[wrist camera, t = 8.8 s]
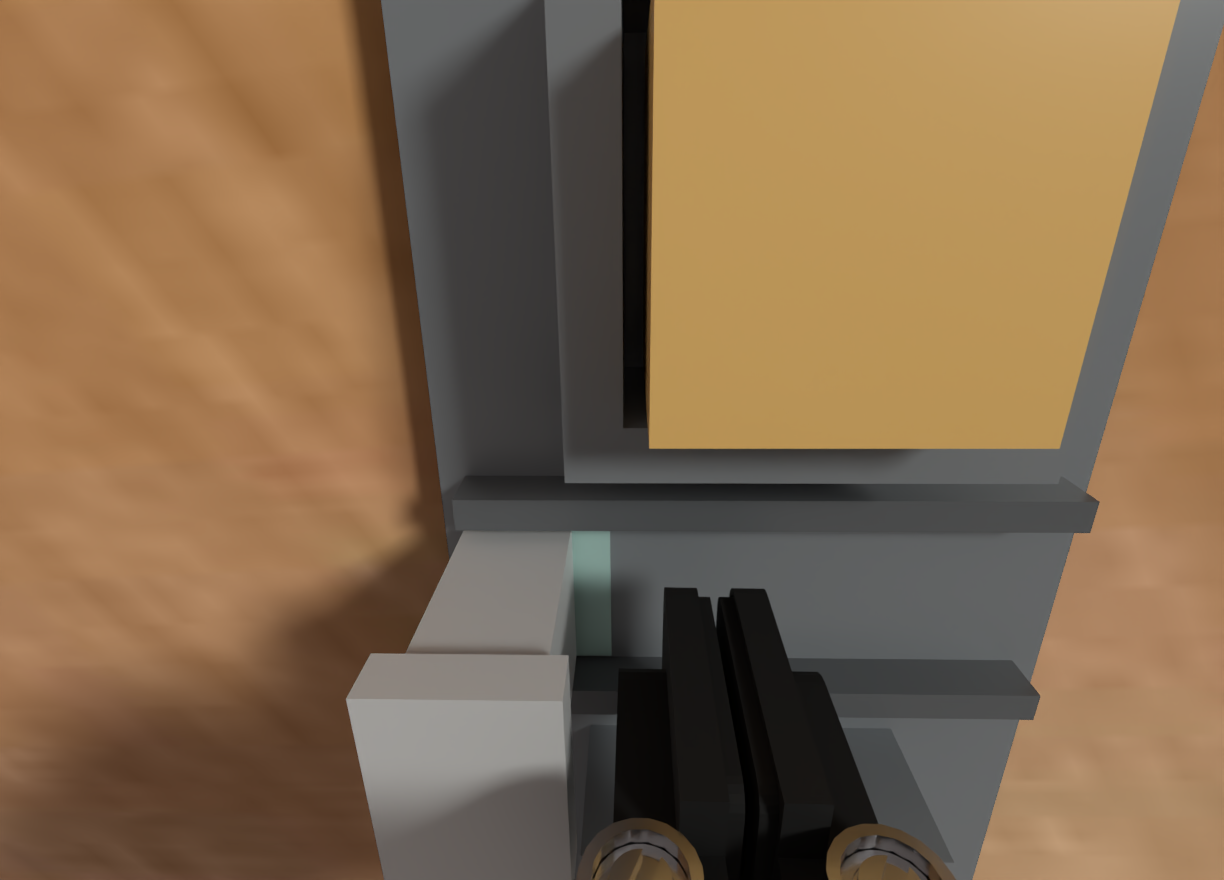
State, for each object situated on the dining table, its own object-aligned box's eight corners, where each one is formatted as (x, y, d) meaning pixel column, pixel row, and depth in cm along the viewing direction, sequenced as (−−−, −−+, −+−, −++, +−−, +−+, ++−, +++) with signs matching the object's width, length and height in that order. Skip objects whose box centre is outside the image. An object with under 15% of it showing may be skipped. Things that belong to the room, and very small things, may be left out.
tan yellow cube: (961, 45, 9) (1192, -48, 5) (910, 354, 11) (1058, 449, 7) (645, 51, 9) (654, -37, 5) (643, 355, 11) (649, 448, 7)
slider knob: (586, 512, 12) (562, 701, 8) (591, 666, 13) (572, 901, 9) (447, 511, 12) (345, 698, 8) (466, 665, 13) (387, 898, 9)
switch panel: (1200, -82, 10) (1565, -248, 6) (936, 903, 18) (1017, 1093, 14) (395, -64, 10) (253, -209, 6) (501, 894, 18) (468, 1078, 14)
